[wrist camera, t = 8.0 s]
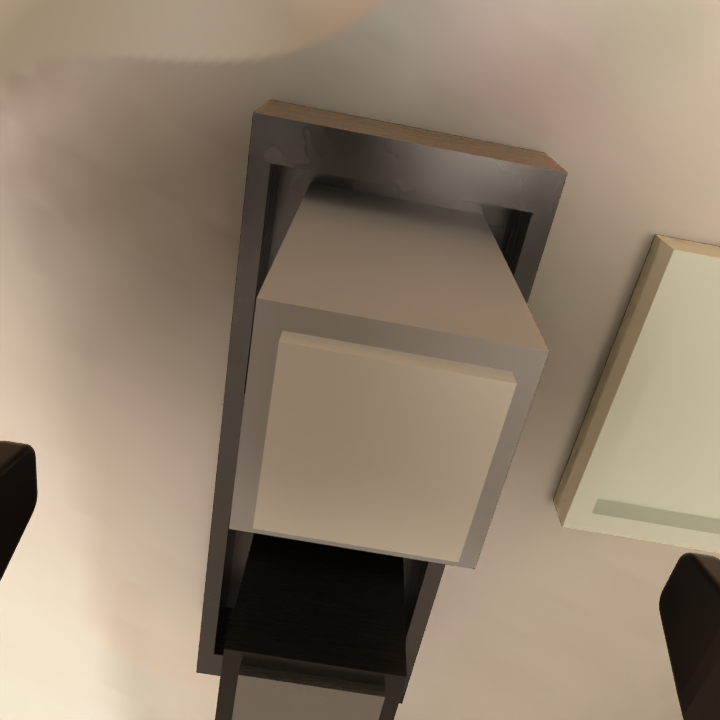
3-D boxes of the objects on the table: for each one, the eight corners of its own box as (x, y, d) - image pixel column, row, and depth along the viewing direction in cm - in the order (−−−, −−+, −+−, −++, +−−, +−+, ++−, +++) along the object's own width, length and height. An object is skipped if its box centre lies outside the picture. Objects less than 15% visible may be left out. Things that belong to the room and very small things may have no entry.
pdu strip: (400, 643, 25) (404, 840, 19) (213, 613, 25) (157, 805, 19) (544, 152, 17) (629, 226, 11) (271, 99, 17) (205, 146, 11)
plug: (442, 367, 20) (477, 585, 12) (287, 339, 19) (223, 544, 12) (483, 214, 18) (555, 362, 10) (310, 182, 17) (252, 307, 10)
